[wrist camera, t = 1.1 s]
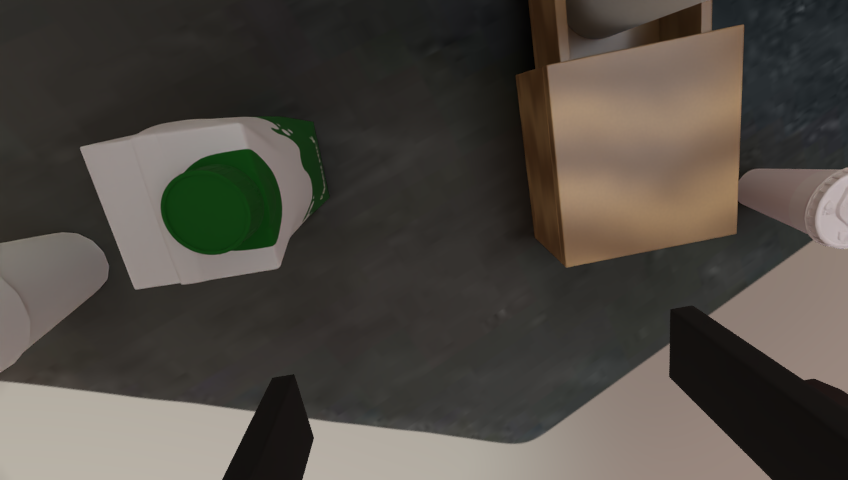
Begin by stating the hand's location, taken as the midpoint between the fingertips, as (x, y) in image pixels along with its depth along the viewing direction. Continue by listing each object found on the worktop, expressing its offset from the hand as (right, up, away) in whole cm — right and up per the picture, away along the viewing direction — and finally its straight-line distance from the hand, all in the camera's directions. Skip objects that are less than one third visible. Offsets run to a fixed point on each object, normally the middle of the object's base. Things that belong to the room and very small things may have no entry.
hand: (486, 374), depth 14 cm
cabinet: (+14, +13, +24) cm, 31 cm away
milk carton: (-15, +12, +24) cm, 30 cm away
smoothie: (+30, +10, +26) cm, 41 cm away
